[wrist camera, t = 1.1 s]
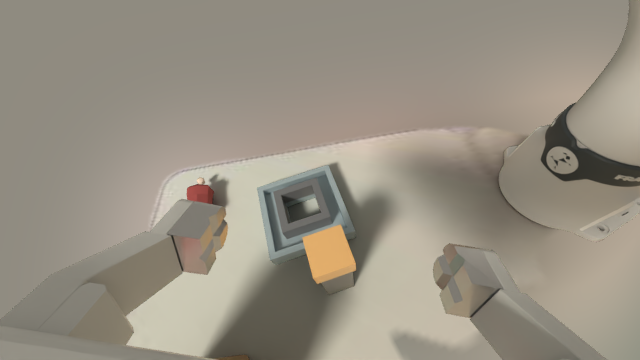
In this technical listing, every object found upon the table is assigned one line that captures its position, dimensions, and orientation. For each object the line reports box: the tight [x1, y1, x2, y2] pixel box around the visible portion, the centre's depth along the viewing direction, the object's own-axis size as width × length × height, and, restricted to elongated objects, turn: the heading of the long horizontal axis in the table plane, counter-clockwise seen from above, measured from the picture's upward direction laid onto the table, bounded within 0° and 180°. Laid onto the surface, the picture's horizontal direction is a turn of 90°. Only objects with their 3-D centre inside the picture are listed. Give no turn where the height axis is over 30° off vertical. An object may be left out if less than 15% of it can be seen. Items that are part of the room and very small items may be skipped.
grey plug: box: [302, 224, 356, 295], centre depth 32 cm, size 5×5×14 cm
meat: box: [187, 177, 214, 204], centre depth 46 cm, size 12×5×5 cm, turn 14°
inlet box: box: [257, 165, 356, 265], centre depth 42 cm, size 14×14×4 cm
